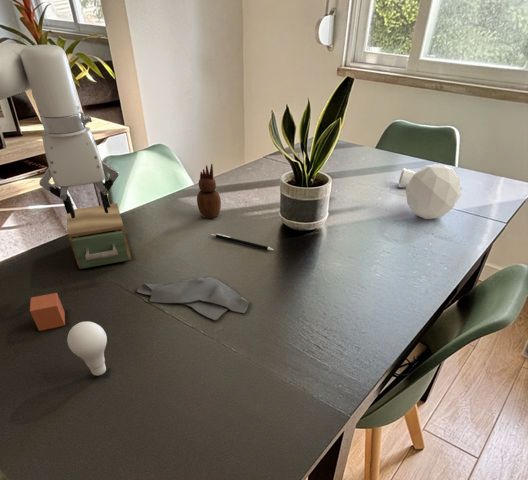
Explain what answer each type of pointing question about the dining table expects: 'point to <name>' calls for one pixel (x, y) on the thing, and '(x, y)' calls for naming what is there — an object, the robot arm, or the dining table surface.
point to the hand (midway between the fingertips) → (89, 212)
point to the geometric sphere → (433, 191)
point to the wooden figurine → (208, 195)
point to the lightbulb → (89, 345)
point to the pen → (241, 241)
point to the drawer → (100, 248)
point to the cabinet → (95, 223)
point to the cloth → (197, 295)
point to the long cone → (405, 177)
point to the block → (47, 311)
